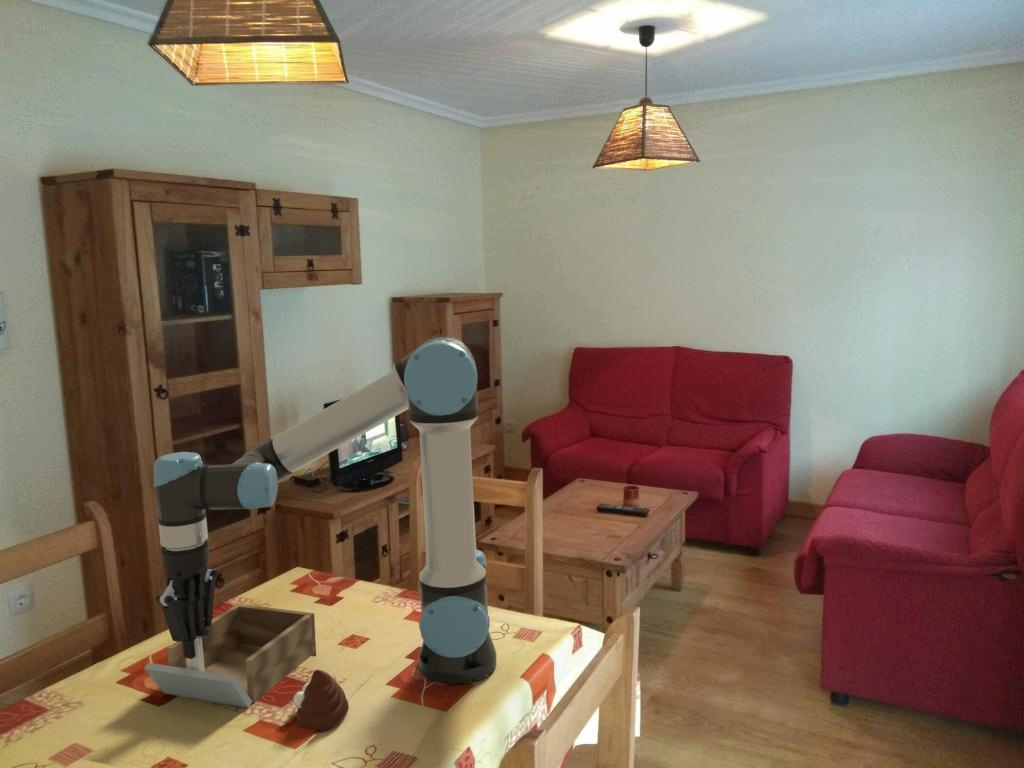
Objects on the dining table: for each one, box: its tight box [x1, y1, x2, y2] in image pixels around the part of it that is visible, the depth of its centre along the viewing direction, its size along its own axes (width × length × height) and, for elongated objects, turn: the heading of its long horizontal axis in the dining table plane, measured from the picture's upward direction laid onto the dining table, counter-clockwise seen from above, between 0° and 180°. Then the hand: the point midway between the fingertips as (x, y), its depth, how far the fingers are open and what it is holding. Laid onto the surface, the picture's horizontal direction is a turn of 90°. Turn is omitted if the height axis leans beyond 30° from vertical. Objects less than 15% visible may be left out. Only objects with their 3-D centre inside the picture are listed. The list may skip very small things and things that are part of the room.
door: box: [143, 662, 253, 708], centre depth 138 cm, size 1×18×8 cm
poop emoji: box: [292, 669, 350, 734], centre depth 135 cm, size 10×8×9 cm
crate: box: [166, 603, 317, 704], centre depth 150 cm, size 20×18×9 cm
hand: (196, 672), depth 137 cm, fingers closed
